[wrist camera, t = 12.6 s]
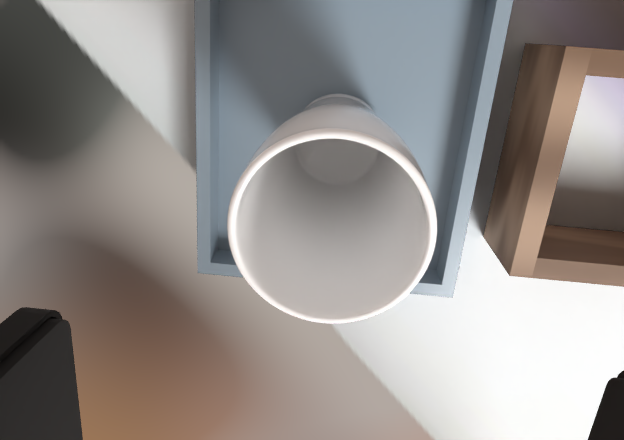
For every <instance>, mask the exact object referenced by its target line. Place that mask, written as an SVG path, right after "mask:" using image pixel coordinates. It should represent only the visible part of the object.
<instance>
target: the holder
mask: <svg viewBox="0 0 624 440" xmlns="http://www.w3.org/2000/svg"><path fill="white" fill-rule="evenodd" d="M586 75H590V76H602V77H614V78H624V51H623V50H610V49H598V48H585V47H573V46H558V45H542V44H526V43H525V48H524V53H523V57H522V62H521V66H520V71H519V75H518V80H517V85H516V89H515V94H514V98H513V103H512V107H511V112H510V117H509V121H508V126H507V130H506V135H505V139H504V144H503V149H502V153H501V158H500V162H499V167H498V172H497V176H496V181H495V185H494V190H493V194H492V199H491V204H490V208H489V213H488V217H487V222H486V226H485V231H484V236H483V237H484V239H485V240H486V241H487V243H488V244H489V246H490V247H491V249H492V250H493V252H494V253H495V255H496V256H497V258H498V259H499V261H500V262H501V264H502V265H503V267H504V268H505V270H506V271H507V273H508V274H509V276H518V277H528V278H539V279H549V280H560V281H570V282H581V283H591V284H602V285H613V286H623V287H624V232H618V231H607V230H596V229H585V228H574V227H563V226H552V225H546V222H547V219H548V215H549V211H550V207H551V204H552V200H553V196H554V192H555V189H556V185H557V181H558V177H559V174H560V170H561V166H562V162H563V159H564V155H565V151H566V147H567V144H568V140H569V136H570V132H571V128H572V125H573V121H574V117H575V113H576V110H577V106H578V102H579V98H580V95H581V91H582V87H583V83H584V80H585V76H586Z"/></svg>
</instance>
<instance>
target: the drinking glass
mask: <svg viewBox="0 0 624 440" xmlns="http://www.w3.org/2000/svg"><path fill="white" fill-rule="evenodd" d="M227 231H228V240H229V245H230V249H231V252H232V256H233V258H234V261H235V263H236V265H237V267H238V269H239V271H240V273H241V274H242V276H243V277H244V279H245V280H246V281H247V283H248V284H249V285H250V286H251V288H252V289H253V290H254V291H255V292H256V293H257V294H258V295H259V296H261V297H262V298H263V299H264V300H265V301H267V302H268V303H269V304H271V305H272V306H274V307H276V308H277V309H279V310H281V311H283V312H285V313H287V314H289V315H292V316H294V317H297V318H300V319H304V320H308V321H313V322H319V323H333V324H335V323H348V322H355V321H359V320H363V319H366V318H369V317H372V316H375V315H377V314H380V313H382V312H384V311H385V310H387V309H389V308H391V307H392V306H394V305H395V304H397V303H398V302H399V301H401V300H402V299H403V298H404V297H405V296H407V295H408V294H409V293H410V292H411V291H412V290H413V288H414V287H415V286H416V285H417V284H418V282H419V281H420V279H421V278H422V277H423V275H424V273H425V271H426V270H427V268H428V266H429V263H430V261H431V258H432V255H433V252H434V249H435V244H436V237H437V217H436V210H435V205H434V201H433V198H432V195H431V192H430V190H429V187H428V184H427V181H426V179H425V176H424V174H423V172H422V170H421V167H420V165H419V163H418V161H417V159H416V158H415V156H414V154H413V153H412V151H411V150H410V148H409V147H408V145H407V144H406V143H405V141H404V140H403V139H402V137H401V136H400V135H399V134H398V133H397V132H396V131H395V130H394V129H393V128H392V127H391V126H390V125H388V124H387V123H386V122H385V121H384V120H382V119H381V118H380V117H379V116H377V114H376V113H375V112H374V110H373V109H372V108H371V107H370V106H369V105H368V104H367V103H365V102H364V101H362V100H361V99H359V98H357V97H354V96H351V95H347V94H329V95H325V96H322V97H319V98H317V99H315V100H314V101H312V102H311V103H309V104H308V105H307V106H306V107H305V108H304V109H303V110H302V111H301V112H299V113H297V114H295V115H294V116H292V117H291V118H289V119H288V120H286V121H285V122H283V123H282V124H281V125H280V126H278V127H277V128H276V129H275V130H274V131H273V132H272V133H271V134H270V135H269V136H268V137H267V138H266V139H265V140H264V141H263V143H262V144H261V145H260V146H259V148H258V149H257V150H256V152H255V153H254V154H253V156H252V158H251V159H250V161H249V162H248V164H247V166H246V167H245V169H244V171H243V173H242V175H241V177H240V179H239V181H238V183H237V185H236V187H235V189H234V191H233V194H232V197H231V201H230V204H229V209H228V217H227Z"/></svg>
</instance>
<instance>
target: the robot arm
mask: <svg viewBox="0 0 624 440" xmlns="http://www.w3.org/2000/svg"><path fill="white" fill-rule="evenodd" d="M0 440H83V438H82V428H81V419H80V410H79V401H78V393H77V383H76V374H75V364H74V355H73V346H72V337H71V328H70V325H69V323H68V321H66V320H62V316H61V315H60V313H59V312H57V311H55V310H46V309H36V308H27V307H26V308H20V309H19V310H17V311H16V312H14V313H13V314H12V315H11V316H9V317H8V318H7V319H6V320H5V321H3V322H2V323H1V324H0ZM588 440H624V371H622V372H621V373H620V374H619V375H618V377H617V378H611V379H610V380H609V381H608V383H607V385H606V388H605V391H604V394H603V397H602V400H601V403H600V406H599V409H598V412H597V414H596V417H595V420H594V423H593V426H592V429H591V432H590V435H589V438H588Z"/></svg>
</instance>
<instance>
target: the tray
mask: <svg viewBox="0 0 624 440" xmlns="http://www.w3.org/2000/svg"><path fill="white" fill-rule="evenodd" d="M512 5H513V0H195V82H196V165H197V246H198V248H197V249H198V273H203V274H213V275H224V276H235V277H243V276H242V274H241V273H240V271H239V269H238V267H237V265H236V263H235V261H234V258H233V256H232V252H231V249H230V245H229V240H228V231H227V217H228V209H229V204H230V201H231V197H232V194H233V191H234V189H235V187H236V185H237V183H238V181H239V179H240V177H241V175H242V173H243V171H244V169H245V167H246V166H247V164H248V162H249V161H250V159H251V158H252V156H253V154H254V153H255V152H256V150H257V149H258V148H259V146H260V145H261V144H262V143H263V141H264V140H265V139H266V138H267V137H268V136H269V135H270V134H271V133H272V132H273V131H274V130H275V129H276V128H277V127H278V126H280V125H281V124H282V123H283V122H285V121H286V120H288V119H289V118H291V117H292V116H294V115H295V114H297V113H299V112H301V111H302V110H303V109H304V108H305V107H306V106H307V105H308V104H309V103H311V102H312V101H314V100H315V99H317V98H319V97H322V96H325V95H329V94H347V95H351V96H354V97H357V98H359V99H361V100H362V101H364V102H365V103H367V104H368V105H369V106H370V107H371V108H372V109H373V110H374V112H375V113H376V114H377V116H379V117H380V118H381V119H382V120H384V121H385V122H386V123H387V124H388V125H390V126H391V127H392V128H393V129H394V130H395V131H396V132H397V133H398V134H399V135H400V136H401V137H402V139H403V140H404V141H405V143H406V144H407V145H408V147H409V148H410V150H411V151H412V153H413V154H414V156H415V158H416V159H417V161H418V163H419V165H420V167H421V170H422V172H423V174H424V176H425V179H426V181H427V184H428V187H429V190H430V192H431V195H432V198H433V201H434V205H435V210H436V217H437V237H436V244H435V249H434V252H433V255H432V258H431V261H430V263H429V266H428V268H427V270H426V271H425V273H424V275H423V277H422V278H421V279H420V281H419V282H418V284H417V285H416V286H415V287H414V288H413V290H412V291H411V292H410V294H421V295H431V296H441V297H452V298H453V294H454V289H455V284H456V280H457V275H458V270H459V265H460V260H461V255H462V250H463V245H464V240H465V235H466V230H467V226H468V221H469V216H470V211H471V206H472V201H473V196H474V191H475V186H476V181H477V177H478V172H479V167H480V162H481V157H482V152H483V147H484V142H485V137H486V132H487V127H488V123H489V118H490V113H491V108H492V103H493V98H494V93H495V88H496V83H497V78H498V74H499V69H500V64H501V59H502V54H503V49H504V44H505V39H506V34H507V29H508V24H509V20H510V15H511V10H512Z"/></svg>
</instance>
